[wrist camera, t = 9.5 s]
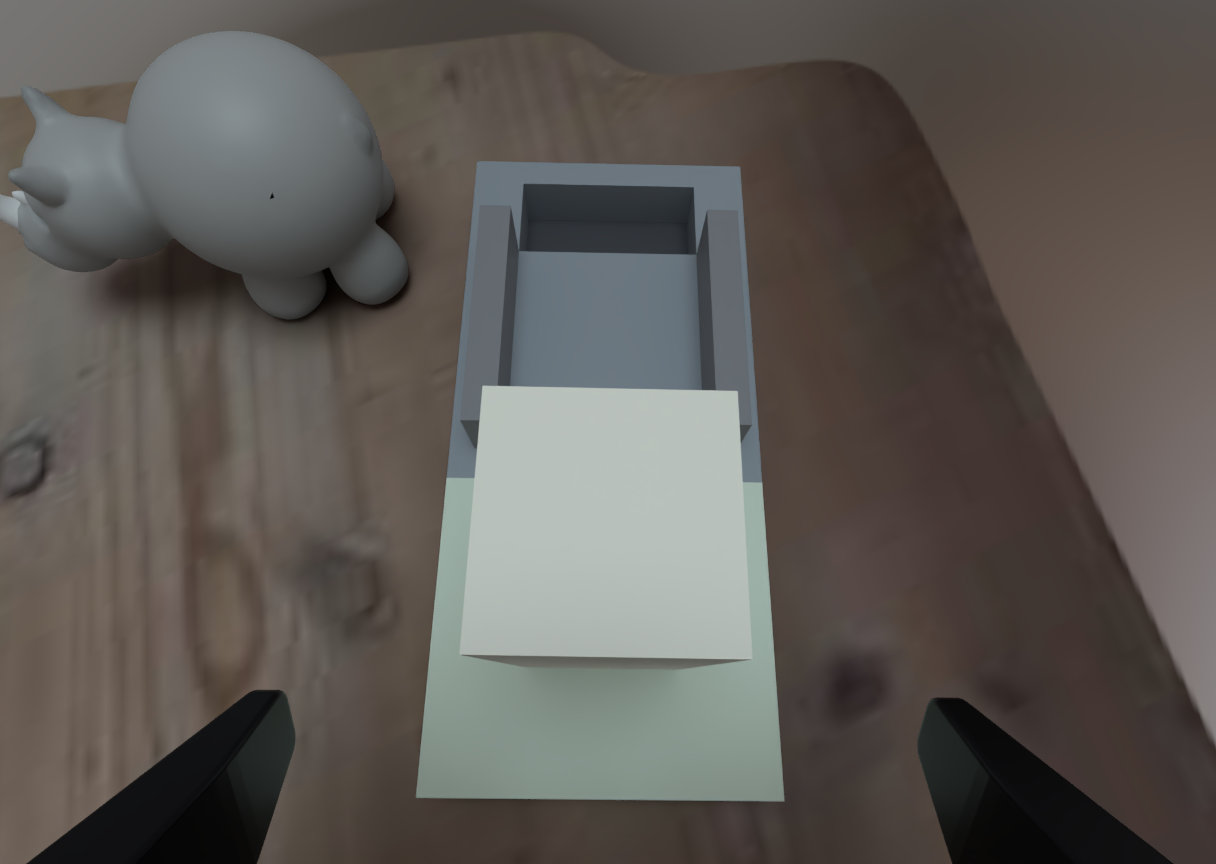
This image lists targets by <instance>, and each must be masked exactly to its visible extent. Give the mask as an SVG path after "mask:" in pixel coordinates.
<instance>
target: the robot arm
mask: <svg viewBox="0 0 1216 864" xmlns="http://www.w3.org/2000/svg"><path fill="white" fill-rule="evenodd" d="M294 746H295V728H294V724H293V720H292V716H291V712H290V707H289V703H288V699H287V696H286V694H285V693H284V692H283V691H280V690H254V691H252V692H250V693H248V694H246V695H245V696H244V697H243V698H241V699H240V700H239V701H237V702H236V703H235V704H233V705H232V706H231V707H230V708H228V709H227V710H226V711H224V712H223V713H222V714H220V715H219V716H218V717H217V718H215V719H214V720H213V721H211V722H210V723H209V724H207V725H206V726H205V727H204V728H202V729H201V730H200V731H198V732H197V733H196V734H194V735H193V736H192V737H191V738H189V739H188V740H187V741H185V742H184V743H183V744H181V745H180V746H179V747H178V748H176V749H175V750H174V751H172V752H171V753H170V754H168V755H167V756H166V757H165V758H163V759H162V760H161V761H159V762H158V763H157V764H155V765H154V766H153V767H152V768H150V769H149V770H148V771H146V772H145V773H144V774H142V775H141V776H140V777H139V778H137V779H136V780H135V781H133V782H132V783H131V784H129V785H128V786H127V787H125V788H124V789H123V790H122V791H120V792H119V793H118V794H116V795H115V796H114V797H112V798H111V799H110V800H109V801H107V802H106V803H105V804H103V805H102V806H101V807H99V808H98V809H97V810H96V811H94V812H93V813H92V814H90V815H89V816H88V817H86V818H85V819H84V820H83V821H81V822H80V823H79V824H77V825H76V826H75V827H73V828H72V829H71V830H70V831H68V832H67V833H66V834H64V835H63V836H62V837H60V838H59V839H58V840H57V841H55V842H54V843H53V844H51V845H50V846H49V847H47V848H46V849H45V850H44V851H42V852H41V853H40V854H38V855H37V856H36V857H34V858H33V859H32V860H31V861H29V862H28V863H27V864H257V861H258V859H259V856H260V853H261V850H262V847H263V844H264V841H265V838H266V835H267V832H268V829H269V825H270V822H271V819H272V816H273V813H274V810H275V807H276V804H277V801H278V797H279V794H280V791H281V788H282V785H283V782H284V779H285V776H286V773H287V769H288V766H289V763H290V760H291V757H292V754H293V751H294ZM917 747H918V755H919V759H920V762H921V765H922V768H923V772H924V775H925V778H926V781H927V785H928V788H929V791H930V794H931V797H932V801H933V804H934V807H935V810H936V814H937V817H938V820H939V823H940V826H941V830H942V833H943V836H944V839H945V843H946V846H947V849H948V852H949V855H950V858H951V861H952V864H1174V863H1172V862H1171V861H1170V860H1169V859H1167V858H1166V857H1165V856H1163V855H1162V854H1161V853H1160V852H1158V851H1157V850H1156V849H1154V848H1153V847H1152V846H1151V845H1149V844H1148V843H1147V842H1146V841H1144V840H1143V839H1142V838H1140V837H1139V836H1138V835H1137V834H1135V833H1134V832H1133V831H1131V830H1130V829H1129V828H1128V827H1126V826H1125V825H1124V824H1123V823H1121V822H1120V821H1119V820H1117V819H1116V818H1115V817H1114V816H1112V815H1111V814H1110V813H1108V812H1107V811H1106V810H1105V809H1103V808H1102V807H1101V806H1100V805H1098V804H1097V803H1096V802H1094V801H1093V800H1092V799H1091V798H1089V797H1088V796H1087V795H1085V794H1084V793H1083V792H1082V791H1080V790H1079V789H1078V788H1076V787H1075V786H1074V785H1073V784H1071V783H1070V782H1069V781H1068V780H1066V779H1065V778H1064V777H1062V776H1061V775H1060V774H1059V773H1057V772H1056V771H1055V770H1053V769H1052V768H1051V767H1050V766H1048V765H1047V764H1046V763H1045V762H1043V761H1042V760H1041V759H1039V758H1038V757H1037V756H1036V755H1034V754H1033V753H1032V752H1030V751H1029V750H1028V749H1027V748H1025V747H1024V746H1023V745H1022V744H1020V743H1019V742H1018V741H1016V740H1015V739H1014V738H1013V737H1011V736H1010V735H1009V734H1007V733H1006V732H1005V731H1004V730H1002V729H1001V728H1000V727H999V726H997V725H996V724H995V723H993V722H992V721H991V720H990V719H988V718H987V717H986V716H984V715H983V714H982V713H981V712H979V711H978V710H977V709H976V708H974V707H973V706H972V705H970V704H969V703H968V702H966V701H965V700H963V699H960V698H933V699H931V700H930V701H929V703H928V705H927V709H926V712H925V715H924V719H923V722H922V726H921V729H920V732H919V736H918V742H917Z"/></svg>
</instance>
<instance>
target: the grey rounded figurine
mask: <svg viewBox="0 0 1216 864" xmlns="http://www.w3.org/2000/svg"><path fill="white" fill-rule="evenodd" d="M21 92H22V98H23V100H24V102H25V103H26V104H27V106H28V107H29V109H30V111H31V112H32V114H33V116H34V118H35V120H36V131H35V134H34V137H33V139H32V140H31V142H30V143H29V145H28V147H27V149H26V151H25V154H24V157H23V161H22V167H21V168H16V169H13V170H11V171H9V174H8V177H9V180H10V181H11V182H12V183H14V184H15V185H17V186H18V187H19V188H21V189H22V190H23V191H13V192H12V195H13V196H14V197H15V198H13V197H8V196H3V195H0V220H2V221H3V222H5V223H6V224H8V225H10V226H12V227H14V228H16V229H18V230H19V233H20V234H21V235H22V236H23V238H24V244H25V246H26V247H27V249H28V250H30V251H31V252H33V253H34V254H36V255H38V256H39V257H41V258H42V259H44V260H46V261H47V262H49V263H51V264H53V265H55V266H57V267H59V268H62V269H65V270H69V271H76V272H91V271H96V270H100V269H103V268H106V267H108V266H110V265H111V264H113V263H114V262H115V261H116V260H117V259H132V258H139V257H143V256H147V255H150V254H153V253H155V252H157V251H159V250H161V249H162V248H164V247H165V246H166V245H167V244H168V243H169V242H170V241H171V240H172V239H176V240H177V241H178V242H179V243H181V244H182V245H183V246H184V247H186V248H187V249H188V250H190V251H191V252H193V253H194V254H196V255H197V256H199V257H200V258H202V259H204V260H206V261H208V262H209V263H211V264H214V265H216V266H218V267H221V268H223V269H226V270H229V271H232V272H235V273H239V274H242V278H243V281H244V284H245V286H246V288H247V290H248V292H249V294H250V296H251V297H252V299H253V300H254V301H255V302H256V304H257V305H258V306H259V307H260V308H261V309H263V310H264V311H265V312H267V313H268V314H270V315H272V316H275V317H278V318H281V319H297V318H301V317H303V316H305V315H307V314H309V313H310V312H312V311H313V310H314V309H315V308H316V307H317V306H318V305H319V304H320V302H321V301H322V299H323V298H324V296H325V293H326V287H327V285H326V279H325V276H324V274H323V272H322V270H324V269H326V268H328V267H329V268H330V270H331V272H332V274H333V277H334V278H335V280H336V282H337V283H338V285H339V286H340V288H341V289H342V290H343V291H344V292H345V293H346V294H347V295H348V296H350V297H351V298H353V299H354V300H356V301H358V302H361V303H364V304H371V305H372V304H380V303H383V302H386V301H388V300H389V299H391V298H392V297H394V296H395V295H396V294H397V293H398V292H399V291H400V290H401V289H402V288H403V286H404V285H405V283H406V281H407V278H408V273H409V270H408V264H407V260H406V258H405V256H404V254H403V252H402V250H401V249H400V247H399V246H398V244H397V243H396V242H395V241H394V240H393V238H392V237H391V236H390V235H389V234H388V233H386V232H385V231H384V230H383V229H381V228H380V227H379V226H378V225H377V224H376V222H375V220H377V219H379V218H380V217H381V216H383V215H384V214H385V212H386V211H387V210H388V209H389V207H390V206H391V204H392V201H393V197H394V191H395V187H394V182H393V178H392V176H391V173H390V171H389V169H388V167H387V165H386V164H385V162H384V161H383V160H382V155H381V150H380V146H379V142H378V139H377V136H376V133H375V130H374V128H373V125H372V123H371V121H370V119H369V117H368V115H367V113H366V111H365V110H364V108H363V106H362V105H361V103H360V101H359V100H358V98H357V97H356V96H355V94H354V93H353V92H352V91H351V89H350V88H349V87H348V86H347V85H346V84H345V82H344V81H343V80H342V79H341V78H340V77H339V76H338V75H337V74H336V73H335V72H333V71H332V70H331V69H330V68H329V67H328V66H326V65H325V64H324V63H322V62H321V61H320V60H318V59H317V58H315V57H314V56H312V55H311V54H309V53H308V52H306V51H304V50H302V49H300V48H298V47H296V46H294V45H292V44H290V43H288V42H285V41H282V40H280V39H277V38H274V37H270V36H266V35H262V34H258V33H251V32H242V31H221V32H212V33H208V34H203V35H199V36H196V37H193V38H190V39H187V40H185V41H183V42H181V43H179V44H176V45H175V46H173V47H171V48H170V49H168V50H167V51H165V52H164V53H163V54H161V55H160V56H159V57H158V58H157V59H156V60H155V61H154V62H153V63H152V64H151V65H150V66H149V67H148V69H147V70H146V71H145V72H144V74H143V75H142V76H141V78H140V79H139V81H138V83H137V85H136V87H135V90H134V92H133V95H132V98H131V102H130V106H129V111H128V117H127V122H126V124H122V123H119V122H116V121H113V120H109V119H104V118H98V117H81V116H75V115H73V114H70V113H69V112H67V111H66V110H65V109H63V108H62V107H61V106H60V105H59V104H57V103H56V102H55V101H54V100H53V99H52V98H50V97H49V96H47V95H45V94H44V93H42V92H41V91H39V90H38V89H36V88H33V87H30V86H25V85H24V86H22V88H21Z"/></svg>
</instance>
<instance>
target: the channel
mask: <svg viewBox="0 0 1216 864" xmlns="http://www.w3.org/2000/svg"><path fill="white" fill-rule="evenodd" d="M482 386H523V387H571V388H619V389H666V390H714V391H738V405H739V423H740V441H741V459H742V477H743V496H744V514H745V532H746V550H747V568H748V586H749V604H750V622H751V640H752V658H753V660H746V661H738V662H731V663H724V664H716V665H709V666H702V667H695V668H687V669H680V670H654V669H593V668H532V667H520V666H515V665H510V664H505V663H500V662H494V661H489V660H484V659H479V658H474V657H469V656H464V655H459V652H460V641H461V629H462V618H463V606H464V594H465V583H466V571H467V560H468V548H469V537H470V525H471V513H472V502H473V490H474V479H475V467H476V456H477V444H478V432H479V421H480V409H481V398H482ZM416 798H484V799H589V800H694V801H784V789H783V775H782V760H781V746H780V732H779V717H778V703H777V689H776V675H775V660H774V646H773V632H772V617H771V603H770V589H769V575H768V560H767V546H766V532H765V517H764V503H763V489H762V474H761V460H760V446H759V432H758V417H757V403H756V389H755V374H754V360H753V346H752V331H751V317H750V303H749V289H748V274H747V260H746V246H745V231H744V217H743V203H742V189H741V174H740V167H726V166H679V165H632V164H584V163H537V162H490V161H477V171H476V181H475V191H474V202H473V212H472V222H471V233H470V243H469V253H468V264H467V274H466V284H465V295H464V305H463V315H462V326H461V336H460V346H459V357H458V367H457V377H456V388H455V398H454V408H453V419H452V429H451V439H450V450H449V460H448V471H447V481H446V491H445V502H444V512H443V522H442V533H441V543H440V553H439V564H438V574H437V584H436V595H435V605H434V615H433V626H432V636H431V646H430V657H429V667H428V677H427V688H426V698H425V708H424V719H423V729H422V739H421V750H420V760H419V770H418V781H417V791H416Z"/></svg>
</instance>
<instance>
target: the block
mask: <svg viewBox="0 0 1216 864" xmlns="http://www.w3.org/2000/svg"><path fill="white" fill-rule="evenodd" d="M459 655H464V656H469V657H474V658H479V659H484V660H489V661H494V662H500V663H505V664H510V665H515V666H520V667H532V668H593V669H654V670H680V669H687V668H695V667H702V666H709V665H716V664H724V663H731V662H738V661H746V660H753V658H752V640H751V622H750V604H749V586H748V568H747V550H746V532H745V514H744V496H743V477H742V459H741V441H740V423H739V405H738V391H714V390H666V389H619V388H571V387H523V386H482V398H481V409H480V421H479V432H478V444H477V456H476V467H475V479H474V490H473V502H472V513H471V525H470V537H469V548H468V560H467V571H466V583H465V594H464V606H463V618H462V629H461V641H460V652H459Z"/></svg>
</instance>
